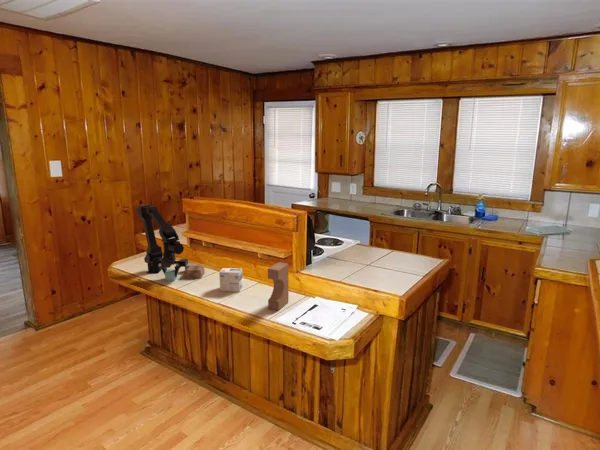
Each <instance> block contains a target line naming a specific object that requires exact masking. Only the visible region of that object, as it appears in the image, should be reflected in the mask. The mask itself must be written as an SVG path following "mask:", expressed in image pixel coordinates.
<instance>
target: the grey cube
mask: <svg viewBox="0 0 600 450" xmlns="http://www.w3.org/2000/svg"><path fill="white" fill-rule="evenodd" d="M190 265H195V263H193V262H192V263H191V262H190V263H189V262H188V264H187V266H185V267H184V273H185V274H187V272H186V270H187V269H188V268H189V266H190Z"/></svg>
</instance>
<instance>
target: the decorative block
mask: <svg viewBox="0 0 600 450" xmlns="http://www.w3.org/2000/svg"><path fill="white" fill-rule="evenodd" d="M267 279H269V280H272V282H273V289H272V293H271V295H270V297H269V298H268V301H267V305H268V306H267V307H268V310H272V311H278V312H279V311H280V310H281V309H282V308H283V307H284V306H286V305H287V304H288V303H289V263H287V262H281V261H278V262H277V263H275V264H274V265H272V266H270V267H269V268H267Z"/></svg>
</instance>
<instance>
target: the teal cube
mask: <svg viewBox="0 0 600 450" xmlns="http://www.w3.org/2000/svg"><path fill="white" fill-rule="evenodd" d="M177 279H178V276H177V277H175V268H173V269H172V268H167V271H166V272H165V274H164V280H165V282H175V281H176V280H177Z"/></svg>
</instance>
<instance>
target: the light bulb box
mask: <svg viewBox="0 0 600 450" xmlns="http://www.w3.org/2000/svg"><path fill="white" fill-rule="evenodd" d="M218 274H219V277H218V278H219V291H220V292H235V293H236V292H237V293H240V292H241V290H242V289H243V287H244V285H243V282H244V281H243V268H237V267H236V268H234V267H233V268H232V267H228V268H227V267H223V268H221V270H220V271H219V273H218Z"/></svg>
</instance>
